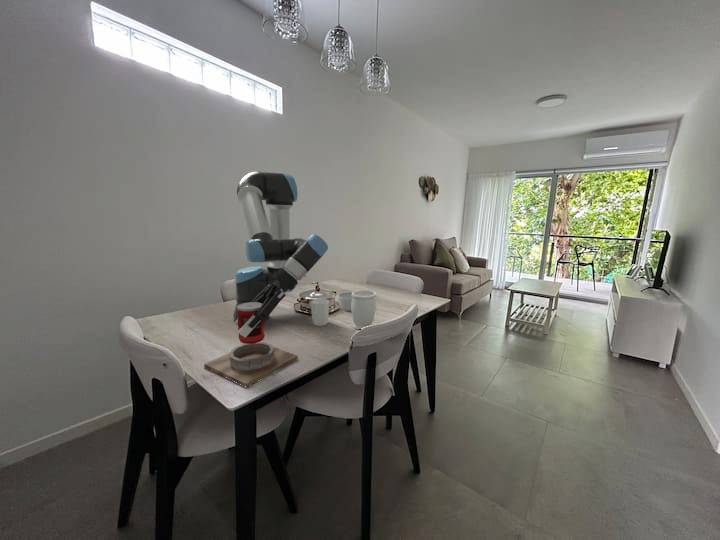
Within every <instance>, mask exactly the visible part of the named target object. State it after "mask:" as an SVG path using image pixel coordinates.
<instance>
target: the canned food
mask: <svg viewBox="0 0 720 540" xmlns="http://www.w3.org/2000/svg"><path fill="white" fill-rule="evenodd" d="M261 306H262V303H259V302H247V303H243V304H240V305H238V306H237V318H238V325H237V328H238V329H237V332H238V331H239V330H240V329H241V328H242V326H243V325H244V324H245V323H246V322H247V321H248V320H249V319H250V318H251V317H252V316H253V313H257V311H258V310H259V308H260V307H261ZM265 331H266V330H265V321H263V320H262V321H260V322H259V323H258V324H257V325H256V326H255V327H254V329H253V330H252V331H251V332H250V333H249V334H248V335H247V336H246V337H243V336H242V335H240V334H239V333H238V340H239V341H240V343H242V344H253V343H258V342H262V341H263V340H264V339H265V334H266V333H265Z"/></svg>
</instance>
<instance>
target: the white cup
mask: <svg viewBox="0 0 720 540" xmlns="http://www.w3.org/2000/svg"><path fill="white" fill-rule="evenodd" d="M310 306H311V308H310V309H311V318H312V319H311V320H312V325H314V326H320V327H321V326H322V327H323V326H326V325H327V324H328V323H329V315H330V312H329V310H330V300H328V299H325V298H317V299H313V300H311V301H310Z"/></svg>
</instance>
